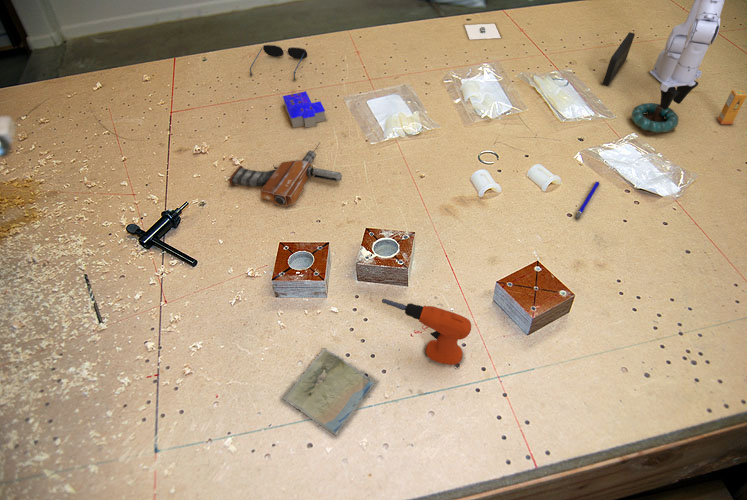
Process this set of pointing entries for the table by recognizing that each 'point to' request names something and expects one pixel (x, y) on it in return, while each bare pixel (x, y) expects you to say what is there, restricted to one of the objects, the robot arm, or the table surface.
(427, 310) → the toy drill
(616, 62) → the nameplate
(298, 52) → the sunglasses
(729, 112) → the supplement box
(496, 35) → the white square panel
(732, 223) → the table surface
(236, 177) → the tool
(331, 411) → the topographic map
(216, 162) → the table surface
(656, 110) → the stand
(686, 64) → the robot arm
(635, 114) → the ring
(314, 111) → the blue grey stepped block
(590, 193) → the pencil
